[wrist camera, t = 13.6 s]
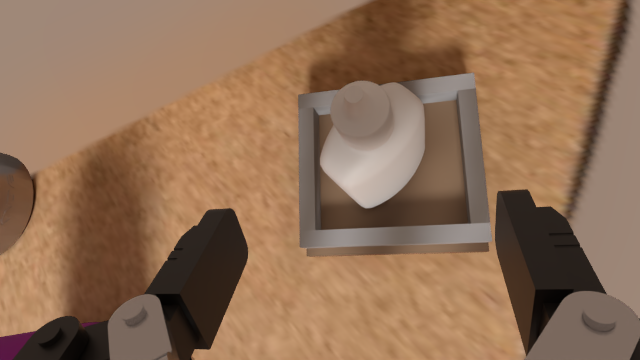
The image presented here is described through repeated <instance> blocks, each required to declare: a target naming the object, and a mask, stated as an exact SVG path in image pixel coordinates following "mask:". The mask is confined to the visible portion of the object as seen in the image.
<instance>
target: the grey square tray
mask: <svg viewBox="0 0 640 360" xmlns="http://www.w3.org/2000/svg"><path fill="white" fill-rule="evenodd" d="M396 83H399V84H401V85H402V86H404V87H405V88H407V89H408V90H409V91H411V92H412V93H413V94H415V95H416V96H417V97H418V98H419V99H420V100H421V102H422V103H423V106H424V115H425V151H424V154H423V157H422V160H421V162H420V164H419V166H418V168H417V170H416V172H415V173H414V175H413V176H412V178H411V179H410V180H409V182H408V183H407V184H406V185H405V186H404V187H403V188H402V189H401V190H400V191H399V192H398V193H397V194H395V195H394V196H393V197H391V198H390V199H388V200H387V201H385V202H383V203H382V204H380V205H378V206H375V207H373V208H364V207H362V206H360V205H359V204H358V203H357V202H356V201H355V200H354V199H352V198H351V197H350V196H349V195H348V194H347V193H346V192H345V191H344V190H343V189H342V188H340V187H339V186H338V185H337V184H336V183H335V182H334V181H333V180H332V179H331V178H330V177H329V176H328V175H327V174H326V173H325V172H324V171H323V169H322V167H321V165H320V156H321V152H322V149H323V146H324V143H325V141H326V138H327V136H328V134H329V132H330V130H331V129H332V127H333V125H334V124H333V122H332V119H331V115H330V114H331V112H330V111H331V109H330V108H331V104H332V101H333V99H334V97H335V96H336V94H337V93H338V91H340V90H332V91H324V92H316V93H308V94H300V95H298V107H299V215H300V247H301V248H307V256H310V257H315V256H352V255H389V254H426V253H463V252H488V251H489V246H488V242H491V241H492V235H491V226H490V217H489V208H488V198H487V189H486V180H485V171H484V161H483V152H482V143H481V134H480V124H479V115H478V106H477V97H476V87H475V78H474V73H468V74H460V75H452V76H444V77H436V78H428V79H420V80H412V81H404V82H396ZM381 85H384V84H380V85H378V86H381Z"/></svg>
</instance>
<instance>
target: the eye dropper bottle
mask: <svg viewBox="0 0 640 360" xmlns="http://www.w3.org/2000/svg"><path fill="white" fill-rule="evenodd" d="M330 109H331V111H330V112H331V114H330V115H331V119H332V122H333V124H334V125H333V127H332V129H331V130H330V132H329V134H328V136H327V138H326V141H325V143H324V146H323V149H322V152H321V156H320V165H321V167H322V169H323V171H324V172H325V173H326V174H327V175H328V176H329V177H330V178H331V179H332V180H333V181H334V182H335V183H336V184H337V185H338V186H339V187H340V188H342V189H343V190H344V191H345V192H346V193H347V194H348V195H349V196H350V197H351V198H352V199H354V200H355V201H356V202H357V203H358V204H359V205H360V206H362V207H364V208H373V207H375V206H378V205H380V204H382V203H383V202H385V201H387V200H388V199H390V198H391V197H393V196H394V195H395V194H397V193H398V192H399V191H400V190H401V189H402V188H403V187H404V186H405V185H406V184H407V183H408V182H409V180H410V179H411V178H412V176H413V175H414V173H415V172H416V170H417V168H418V166H419V164H420V162H421V160H422V157H423V154H424V151H425V115H424V106H423V103H422V102H421V100H420V99H419V98H418V97H417V96H416V95H415V94H413V93H412V92H411V91H409V90H408V89H407V88H405V87H404V86H402V85H401V84H399V83H395V82H391V83H387V84H384V85H381V86H378V84H375V83H372V82H369V81H363V80H362V81H356V82H352V83H350V84H347V85H346V86H344V87H342V89H340V91H338V93H337V94H336V96H335V97H334V99H333V101H332V104H331V108H330Z"/></svg>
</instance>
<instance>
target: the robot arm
mask: <svg viewBox="0 0 640 360" xmlns="http://www.w3.org/2000/svg"><path fill="white" fill-rule="evenodd" d="M32 205H33V184H32V180H31V177H30V174H29V172H28V170H27V169H26V167H25V166H24V164H23V163H22V162H20V161H19V160H18V159H17V158H14V157H12V156H10V155H7V154H3V153H0V255H1V254H2V253H4V252H5V251H6V250H8V249H9V248H10V247H11V246H12V245H13V244H14V243H15V242H16V241H17V239H18V238H19V237H20V235H21V234H22V232H23V230H24V229H25V227H26V225H27V222H28V220H29V217H30V214H31V210H32ZM495 242H496V250H497V255H498V258H499V262H500V265H501V269H502V272H503V276H504V279H505V283H506V286H507V290H508V293H509V297H510V300H511V304H512V307H513V311H514V314H515V318H516V321H517V325H518V328H519V332H520V335H521V339H522V342H523V346H524V349H525V353H526V358H525V359H524V360H640V319H639V318H638V316H637V315H636V314H635V313H634V311H633V310H632V309H631V308H630V307H629V306H627V305H626V304H625V303H623V302H622V301H620V300H618V299H616V298H614V297H612V296H609V295H607V294H606V292H605V290H604V288H603V286H602V285H601V283H600V281H599V279H598V277H597V275H596V273H595V272H594V270H593V268H592V266H591V264H590V262H589V260H588V259H587V257H586V255H585V253H584V251H583V249H582V248H580V244H579V242H578V240H577V238H576V236H574V233H573V231H572V229H571V227H570V225H569V223H568V221H567V220H566V218H565V217H563V216H562V215H561V214H560V213H558V212H557V211H556V210H554V209H553V208H552V207H536V205H535V203H534V201H533V199H532V197H531V195H530V192H529V191H528V190H510V191H498V193H497V204H496V225H495ZM247 259H248V247H247V243H246V240H245V237H244V235H243V232H242V229H241V227H240V224H239V222H238V219H237V216H236V214H235V212H234V210H233V209H231V208H228V209H212V210H208V211H207V212H206V213H205V215H204V216H203V218H202V219H201V221H200V223H199V224H198V226H193V227H192V228H191V229H190V230H189V231H188V232H186V233H185V234H184V235H183V236H182V237H181V238H180V240H179V241H178V243H177V244H176V246H175V248H174V251H172V252H171V254H170V255H169V257H168V261H165V263H164V264H163V266H162V267H161V269H160V271H159V272H158V274H157V275H156V277H155V278H154V280H153V281H152V283H151V284H150V286H149V287H148V289H147V291H146V292H145V294H144V295H140V296H136V297H134V298H132V299H130V300H128V301H126V302H125V303H123V304H122V305H121V306H120V307H119V308H118V309H117V310H116V311H115V312H114V313H113V315H112V316H111V318H110V320H107V321H104V322H100V323H97V324H93V325H90V326H86V327H83V326H82V325H81V323H80V322H79V321H78V320H77V318H75V317H72V316H65V317H60V318H57V319H55V320H53V321H50V322H49V323H47V324H45V325H44V326H42V327H41V328H40V329H38V330H37V331H36V332H35V333H34V334H33V335H32V336H31V337H30V338H29V340H28V341H27V342H26V343H25V345H24V346H23V347H22V348H21V350H20V351H19V352H18V353H17V355H16V356H15V357H14V358H13V360H194V358H193V356H192V354H193V351H194V349H210V348H211V346H212V343H213V341H214V338H215V336H216V334H217V331H218V329H219V327H220V324H221V322H222V320H223V317H224V315H225V312H226V310H227V308H228V305H229V303H230V301H231V298H232V296H233V293H234V291H235V289H236V286H237V284H238V282H239V279H240V277H241V275H242V272H243V270H244V267H245V265H246V263H247Z"/></svg>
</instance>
